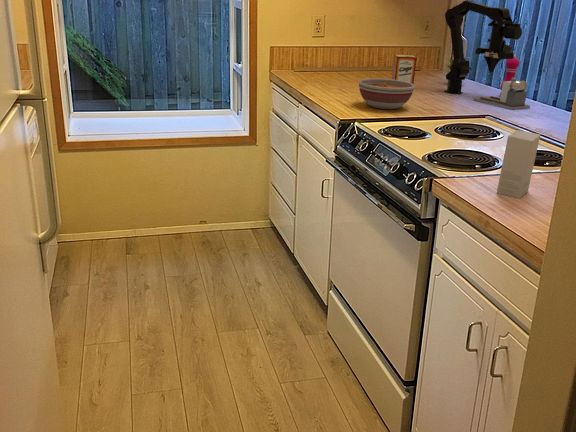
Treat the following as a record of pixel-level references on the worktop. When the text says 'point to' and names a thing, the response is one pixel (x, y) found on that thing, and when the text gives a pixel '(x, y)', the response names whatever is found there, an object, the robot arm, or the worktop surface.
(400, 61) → the orange white cardboard box
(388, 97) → the bowl
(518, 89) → the base
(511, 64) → the pepper mill
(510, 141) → the skincare box
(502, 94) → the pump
